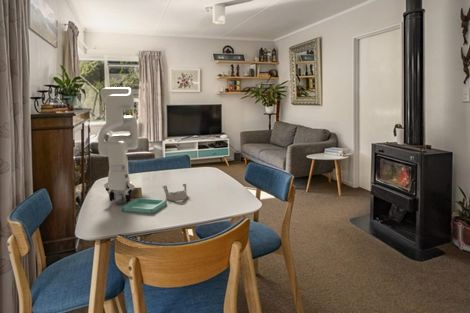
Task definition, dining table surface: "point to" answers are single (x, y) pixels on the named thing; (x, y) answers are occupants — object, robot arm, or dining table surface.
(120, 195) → the grey metal cylinder
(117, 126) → the robot arm
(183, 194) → the anatomical model
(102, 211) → the dining table surface
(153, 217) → the dining table surface
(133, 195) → the walnut block
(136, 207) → the tray
